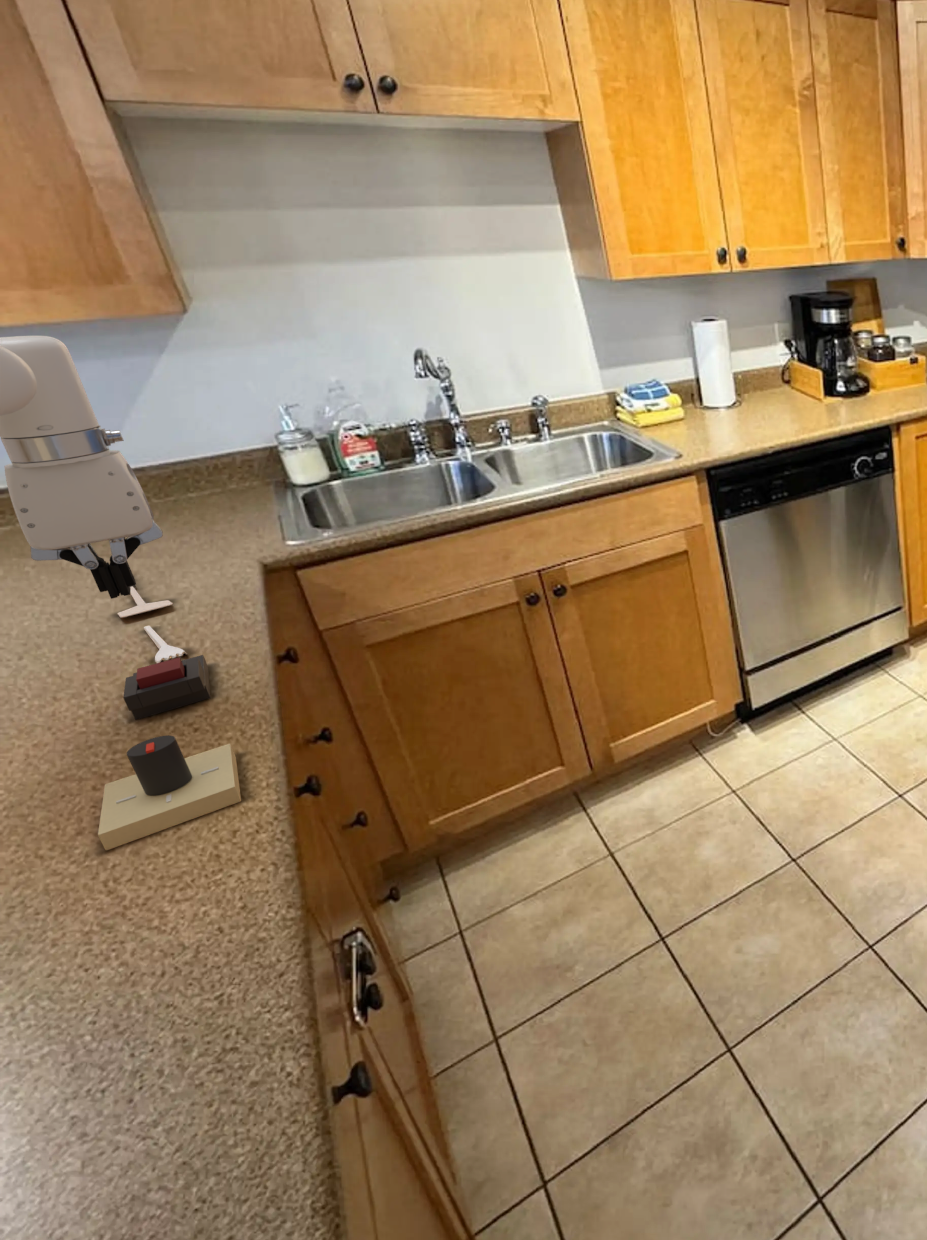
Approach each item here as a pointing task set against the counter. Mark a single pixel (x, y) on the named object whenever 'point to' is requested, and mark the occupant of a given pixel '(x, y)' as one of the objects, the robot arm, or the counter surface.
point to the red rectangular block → (160, 673)
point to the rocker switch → (169, 690)
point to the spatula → (142, 605)
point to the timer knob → (159, 765)
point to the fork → (163, 647)
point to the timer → (168, 799)
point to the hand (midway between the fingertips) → (121, 593)
